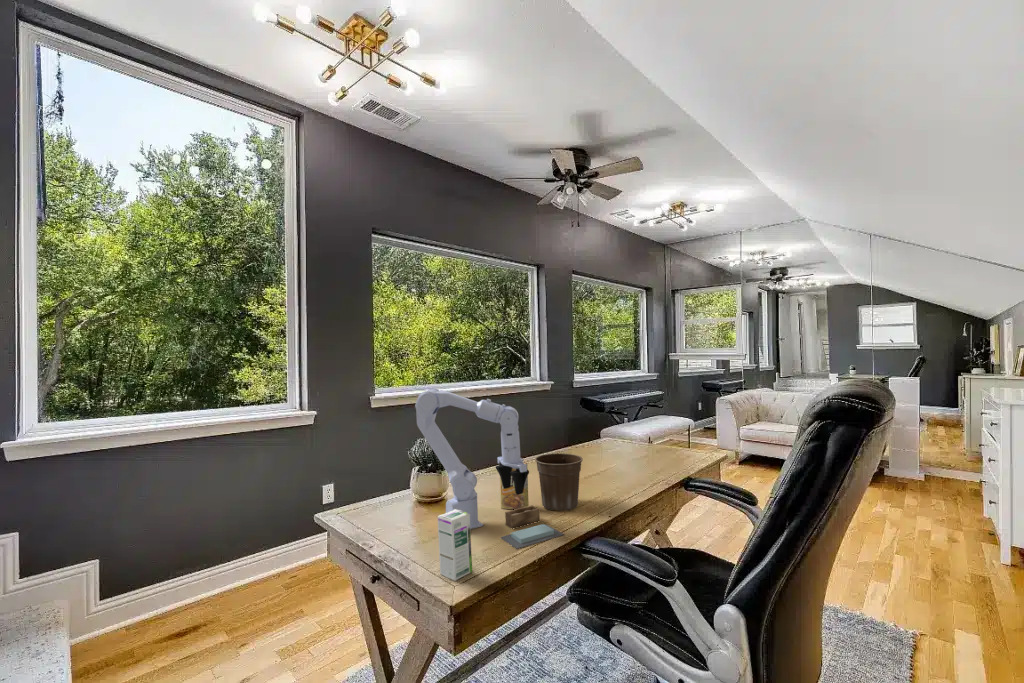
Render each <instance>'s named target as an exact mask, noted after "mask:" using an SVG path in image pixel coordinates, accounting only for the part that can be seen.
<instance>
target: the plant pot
mask: <svg viewBox="0 0 1024 683" xmlns="http://www.w3.org/2000/svg"><path fill="white" fill-rule="evenodd" d="M534 460H535V462H536V468H537V472H538V476H539V477H538V478H539V484H540V485H539V486H540V494H541V505H542V507H543V506H544V507H543V508H544V509H546V508H547V509H546V510H549V509H550V511H556V510H557V511H558V512H562V511H561V510H567V511H571V509H572V510H574V509H576V508H577V507H578V505H579V491H580V490H579V488H580V473H581V470H582V469H581V468H582V462H583V457H582V456H580V455H577V454H572V453H560V452H559V453H557V452H556V453H546V454H541V455H538V456H536V457H535V459H534Z"/></svg>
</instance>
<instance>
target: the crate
mask: <svg viewBox="0 0 1024 683" xmlns="http://www.w3.org/2000/svg"><path fill="white" fill-rule="evenodd" d="M504 513H505V514H504V515H505V526H507V527H508V528H510V529H511V528H512V529H511V530H514V529H513V528H515V529H517V528H516V527H519V528H521V527H520V526H522V527H525V526H524V525H526V526H528V525H527V524H529V525H532V524H531V523H533V524H535V523H534V522H537V523H539V522H538V521H540V522H541V519H540V518H541V517H540V514H541V513H540V508H538V507H536V506H535V505H529V506H527V507H523V508H519V509H515V510H513V509H510V510H508V511H505V512H504Z"/></svg>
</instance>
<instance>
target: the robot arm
mask: <svg viewBox="0 0 1024 683" xmlns="http://www.w3.org/2000/svg"><path fill="white" fill-rule="evenodd" d="M448 406H452V407H456V408H458V409H461V410H462V409H463V410H466V411H469V412H473V413H475V415H476V416H477V417H478V418H480V419H482V420H486V421H489V422H491V423H495V424H500V430H501V431H500V445H501V456H498V457H497V458H496V459H497V464H498V465H495V469H496V471H497V473H498V475H499V479H500V478H501V481H502V484H503V488H504V489H505V488H509V487H510V486H511V476H512V478H513V481H514V486H515V492H516V494H517V495H518V494H522V493H523V490H524V485H525V481H526V478H527V476H528V477H529V474H530V470H527V469H528V464H527V465H526V464H524V463H525V462H524V459H523V458H522V457H521V443H520V442H521V441H520V431H519V428H520V427H519V413H518V411H517V409H516V408H514V407H513V406H510V405H507V406H506V404H504V403H502V405H501V404H499V403H495V402H492V399H489V398H486V399H481V400H480V401H476V400H473V399H470V398H467V397H465V396H462V395H459V394H456V393H453V392H450V391H448V390H447V391H446V390H443V389H442V390H441V389H440V390H439V389H438V388H430V389H427V390H426V391H422V392H421V393H420V394H418V397H417V398H416V402H415V405H414V408H415V410H416V413H415V414H416V426H417V428H418V429H419V431H420V432H421V434H422V435H423V437H424V439H425V440H426V442H427V443H428V445H429V446H430V447H431V449H432V451H433V453H434V454H435V455H436V457H437V458H438V460H439V462H440V463H441V464H442V466H443V468H444V469H445V471H446V473H447V474H448V475H447V476H448V479H449V480H448V481H449V483H450V484H451V487H452V492H453V498H451V499H448V500H447V501H446V503H445V513H448V512H450V511H453V510H454V509H456V510H461V511H464V512H467V513H469V514H470V530H473V529H476V528H480V527H483V526H484V524H483V523H482V522H481V521H480V520H479V510H478V508H479V506H478V493H477V492H476V490H475V488H476V486H477V485H478V484H477V483H478V478H477V476H476V474H475V472H472V471H471V470H469V468H468V467H467V466H466V465H465V464H463V463H462V461H461V460H460V459H459V457H458V456H457V454H456V453H455V450H454V449H453V448H452V446H451V445H450V443H449V442H448V440H447V439H446V437H445V435H444V434H443V432H442V431H441V429H440V428H439V426H438V425H437V423H436V421H435V420H436V417H437V413H438V411H439V409H441V408H444V407H448ZM512 468H514V469H516V471H512Z"/></svg>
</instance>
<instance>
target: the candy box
mask: <svg viewBox="0 0 1024 683" xmlns="http://www.w3.org/2000/svg"><path fill="white" fill-rule="evenodd" d="M523 463H524V464H526V465H527V466H528V462H523ZM527 470H528V468H527ZM512 471H516V469H514V468H512ZM499 479H500V481H499V483H500V484H499V485H500V486H499V487H500V489H499V490H500V508H501V509H504V510H505V509H507V510H513V509H514V510H515V509H519V508H523V507H527V506H530V505H529V503H530V502H529V475H528V476H527V478H526V481H525V485H524V490H523V493H522V494H518V495H517V494H516V492H515V486H514V481H513V478H512V476H511V486H510V487H509V488H505V489H504V488H503V484H502V481H501V478H500V477H499Z"/></svg>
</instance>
